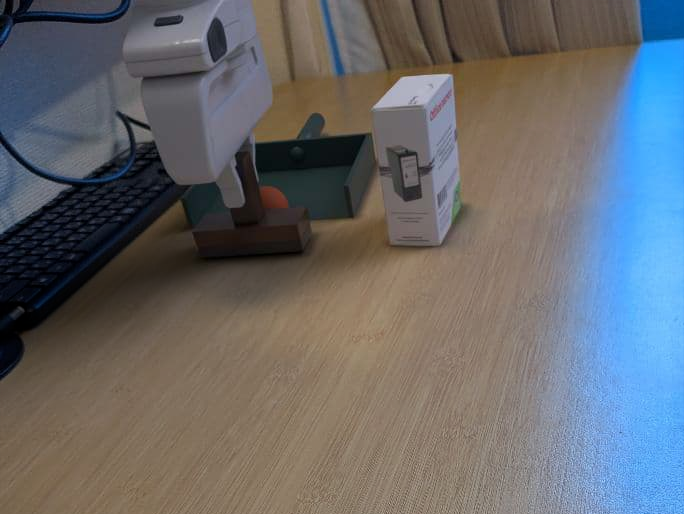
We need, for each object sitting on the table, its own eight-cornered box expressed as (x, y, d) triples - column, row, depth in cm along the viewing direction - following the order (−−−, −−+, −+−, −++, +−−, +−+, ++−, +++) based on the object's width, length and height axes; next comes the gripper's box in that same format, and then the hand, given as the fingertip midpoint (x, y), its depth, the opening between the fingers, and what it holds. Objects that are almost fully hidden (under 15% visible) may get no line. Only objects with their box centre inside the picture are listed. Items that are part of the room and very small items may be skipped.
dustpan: (353, 218, 80) (348, 185, 78) (189, 229, 83) (180, 198, 81) (389, 128, 98) (386, 99, 96) (253, 140, 101) (247, 112, 98)
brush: (200, 258, 77) (172, 170, 71) (212, 239, 79) (187, 153, 74) (303, 251, 75) (283, 160, 69) (312, 232, 78) (293, 143, 72)
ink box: (414, 207, 80) (399, 73, 72) (464, 207, 78) (454, 70, 70) (387, 246, 74) (368, 106, 66) (440, 247, 73) (426, 104, 65)
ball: (251, 240, 80) (237, 207, 77) (257, 211, 82) (245, 178, 78) (290, 238, 80) (279, 205, 76) (296, 209, 81) (285, 175, 78)
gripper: (200, -7, 72) (240, 156, 82) (111, 59, 58) (173, 248, 67) (268, -16, 71) (301, 151, 81) (195, 50, 57) (246, 243, 66)
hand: (242, 196), depth 74 cm, fingers closed on brush, 2 cm apart
